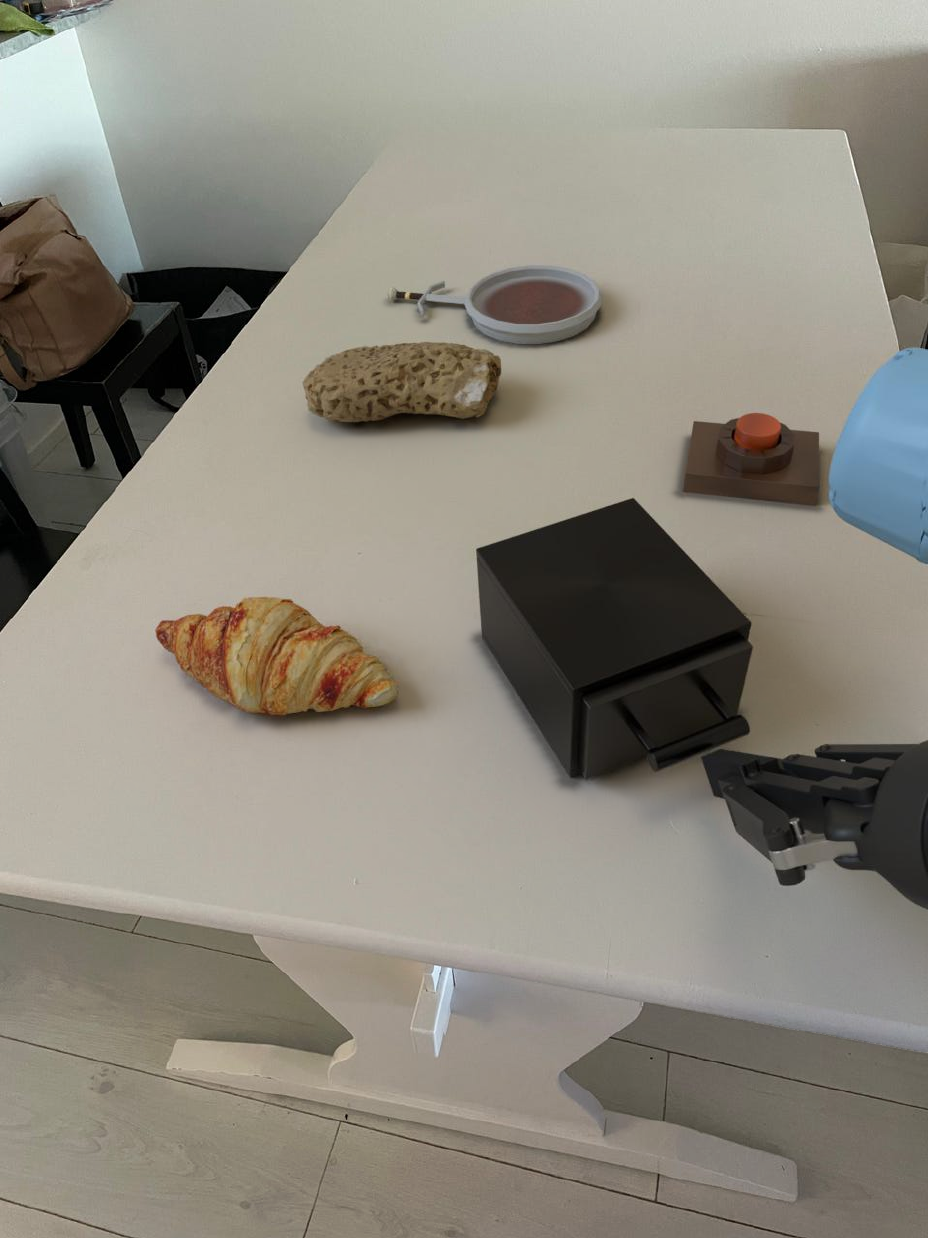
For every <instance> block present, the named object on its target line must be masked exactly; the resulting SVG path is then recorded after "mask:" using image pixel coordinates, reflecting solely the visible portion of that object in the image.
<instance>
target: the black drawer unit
mask: <svg viewBox="0 0 928 1238" xmlns="http://www.w3.org/2000/svg"><path fill="white" fill-rule="evenodd" d="M475 553H476V569H477V585H478V599H479V612H480V613H479V614H480V615H479V616H480V626H481V627H480V631H481V638H482V640H483V641H484V643H485V645H486V646H487V648H488V649H489V651H490V653H491V654H492V656H493V657H494V659H495V660H496V662H497V664H498V665H499V667H500V669H501V670H502V671H503V674H505V676H506V678H507V679H508V681H509V682H510V684H511V685H512V688H513V690H515V692H516V694H517V696H518V698H519V699H520V700H521V702H522V703H523V705H524V707H525V709H526V710H527V712H528V713H529V715H530V716H531V717H532V720H533V721H534V722H535V724H536V726H537V727H538V729H539V730H540V732H541V734H542V735H543V737H544V738H545V740H546V742H547V743H548V745H549V746H550V748H551V750H552V751H553V752H554V754H555V756H556V758H557V759H558V761H559V762H560V764H561V765H562V767H563V768H564V771H565V772H566V774H567V775H568V777H569V778H573V777H575V776H578V775H581V774H582V773H581V771H580V770H579V768H578V762H579V740H580V717H581V697H582V696H583V693H586V692H589V691H591V690H594V689H597V688H599V687H602V686H605V685H607V684H610V683H613V682H615V681H618V680H621V679H623V678H626V677H628V676H631V675H634V674H636V673H639V672H642V671H644V670H647V669H650V668H652V667H655V666H658V665H660V664H663V663H666V662H668V661H671V660H673V659H676V658H679V657H681V656H684V655H687V654H689V653H692V652H695V651H697V650H700V649H703V648H705V647H708V646H711V645H713V644H716V643H719V644H721V643H724V642H726V641H729V640H732V639H734V638H737V637H740V636H742V635H743V636H744V637H745V638H746V639H747V640H748V641H749V639H750V638H749V637H750V633H751V629H752V621H751V620H750V619H749V618H748V616H746V615H745V614H744V613H743V612H742V611H741V610H740V608H738V607H737V606H736V605H735V603H734V602H733V601H732V600H731V599H730V598H729V597H728V596H727V595H726V594H725V593H724V591H723V590H722V589H720V587H719V586H718V585H717V584H716V583H715V582H714V581H713V580H712V579H711V578H710V577H709V576H708V574H706V573H705V572H704V570H703V569H702V568H701V567H700V566H699V565H698V564H697V563H696V562H695V561H694V560H693V558H691V557H690V556H689V554H688V553H687V552H685V550H683V548H682V547H681V546H680V545H679V544H678V542H676V541H675V540H674V539H673V538H672V537H671V535H669V533H668V532H667V531H665V529H664V528H663V527H662V526H661V525H660V524H659V523H658V522H657V521H656V520H655V518H653V516H652V515H650V513H649V512H648V511H647V510H646V509H645V508H644V507H643V506H642V505H641V503H640V502H638V500H637V499H635V498H634V497H631V498H628V499H625V500H621V501H618V502H616V503H613V504H610V505H607V506H603V507H600V508H598V509H594V510H591V511H588V512H585V513H582V514H579V515H576V516H573V517H572V516H571V517H569V518H566V519H563V520H560V521H558V522H554V523H550V524H548V525H545V526H542V527H539V528H536V529H532V530H530V531H527V532H524V533H521V534H517V535H514V536H511V537H508V538H505V539H502V540H498V541H496V542H493V543H489V544H486V545H484V546H483V545H482V546H480V547H477V548H476V549H475Z"/></svg>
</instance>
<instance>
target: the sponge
mask: <svg viewBox="0 0 928 1238" xmlns="http://www.w3.org/2000/svg"><path fill="white" fill-rule="evenodd" d="M501 375H502V359H501V357H500V355H495V354H494V353H493V352H491V351H490V350H487V349H486V348H484V349H483V348H473V347H470V346H467V345H465V344H459V343H453V342H451V343H449V342H430V341H422V342H403V343H402V342H401V343H396V344H383V345H380V346H378V345H377V344H376V345H373V346H367V345H364V346H363V345H362V346H358V347H354V348H350V349H346V350H343V351H341V352H339V353H335V354H332V355H330V356H328V357H326V358H325V359H324V360H323V361H322V362H321V363H319V364H316V366H315V367H314V368H313V369H312V370H310V371H309V372H308V374H307V375H306V376H305V378H304V379H303V381H302V387H303V390H304V392H305V395H304V398H305V399H306V400H307V401H306V405H307V409H308V411H309V412H310V413H312V414H314V415H316V416H317V417H319V418H325V419H326V420H327V421H328V422H341V423H359V422H369V421H373V422H376V421H382V420H384V419H387V418H390V417H392V416H396V415H397V414H402V413H403V414H413V415H414V414H415V415H418V414H423V415H441V416H445V417H446V416H447V417H451V418H452V417H453V418H458V419H461V420H462V419H469V418H473V417H475V418H476V419H477V418H479V417H481V416H483V415H484V414H485V412H486V411H487V408H488V406H489V402H490V400H491V399H492V398H493V397H494V396H495V394H496V392H497V391H498V386H499V384H500V383H499V382H500V377H501Z"/></svg>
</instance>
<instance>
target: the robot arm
mask: <svg viewBox="0 0 928 1238" xmlns="http://www.w3.org/2000/svg"><path fill="white" fill-rule="evenodd" d="M828 485H829V490H828V499H829V502H830V505H831V507H832V509H833V511H834V512H835V514H836V515H837V517H838V518H840V519H841V520H842V521H843V522H844V523H846V524H848V525H850V526H852V527H854V528H856V529H858V530H860V531H861V532H864V533H866V534H868V535H869V536H872V537H874V538H875V539H877V540H879V541H881V542H883V543H885V544H887V545H888V546H890V547H893V548H894V549H896V550H899V551H900V552H902V553H904V554H906V555H908V556H910V557H912V558H914V559H915V560H916V561H918V562H919V563H922V564H925V565H928V349H926V348H923V347H917V346H916V347H915V346H914V347H913V346H912V347H908V348H904V349H902V350H899V351H897V352H896V353H895V354H894V355H893V356H892V357H891V358H889V359H888V360H887V362H885V363H883V364H882V365H880V366H879V367H878V368H877V369H876V371H874V373H873V374H872V375H871V377H870V379H869V380H868V381H867V383H866V385H864V387H863V389H862V391H861V392H860V394H859V395H858V397H857V399H856V401H854V405H853V406H852V408H851V410H850V412H849V414H848V416H847V418H846V421H845V422H844V425H843V427H842V429H841V431H840V434H839V436H838V439H837V442H836V445H835V448H834V451H833V455H832V458H831V462H830V467H829V474H828ZM814 754H815V756H812V755H805V754H800V753H796V754H795V753H794V754H789V755H787V756H785V757H784V758H778V757H774V756H773V757H772V756H766V755H761V754H755V753H748V752H743V751H738V750H731V749H724V748H718V749H716V750H714V751H712V752H709V753H706V754H704V755H702V756H700V759H701V762H702V765H703V767H704V772H705V773H706V777H707V780H708V783H709V785H710V789H711V791H712V795H713V797H715V798H719V799H723V800H724V802H725V804H726V806H727V809H728V812H729V815H730V819H731V822H732V824H733V827H734V830H735V833H736V834H738V835H739V836H740V837H741V838H742V839H743V840H745V841H746V842H747V843H748V844H749V845H751V846H752V847H753V848H754V849H755V850H756V851H757V852H759V853H760V854H761V855H762V856H764V857H765V858H766V859H767V860H768V861H769V862H771V863H772V866H773V869H774V872H775V874H776V878H777V881H778V883H779V885H781V886H785V887H791V886H796V885H798V884H801V883H802V882H804V881H805V879H806V871H812V870H814V869H815V868H816V863H822V862H827V861H833V862H834V863H835V864H836V865H837V866H838V867H840V868H842V869H844V870H849V871H867V872H868V871H869V872H875V873H877V874H878V875H879V876H881V877H882V878H883V879H884V880H885V881H886V882H888V883H889V884H890V886H892V887H893V888H894V889H895V890H896V891H898V893H900V895H902V896H903V897H904V898H906V899H907V900H908V901H910V902H912V903H913V904H914V905H916V906H918V907H921V908H923V909H925V910H927V911H928V739H927V740H925V741H922V742H920V743H857V744H856V743H835V744H833V743H830V744H828V743H823V744H821V745H819V746H818V747H816V748H815V749H814Z"/></svg>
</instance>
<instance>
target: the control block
mask: <svg viewBox="0 0 928 1238" xmlns="http://www.w3.org/2000/svg"><path fill="white" fill-rule="evenodd" d="M739 418H740V417H737V418H732V419H730V420H728V421H727V422H725V423H720V422H711V421H710V422H709V421H698V420H694V421H693V423H692V428H691V435H690V442H689V447H688V453H687V459H686V465H685V472H684V480H683V485H682V486H683V488H682V492H683V493H691V494H699V495H709V496H717V497H718V496H719V497H727V498H738V499H744V500H745V499H746V500H756V501H764V502H765V501H766V502H775V503H785V504H791V505H792V504H794V505H803V506H812V507H814V506H815V505H816V501H817V497H818V493H819V490H820V432H819V431H810V430H809V431H808V430H797V429H790V428H789V427H788V425H786V424H785V423H782V422H780V424H781V430H780V434H779V439H778V443H777V445H776V446H775V447H774V448H773V449H768V450H763V451H759V450H749V449H746V448H744V447H742V446H739V445H737V444H736V443H735V440H734V435H735V430H736V424H737V421H738V419H739Z"/></svg>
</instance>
